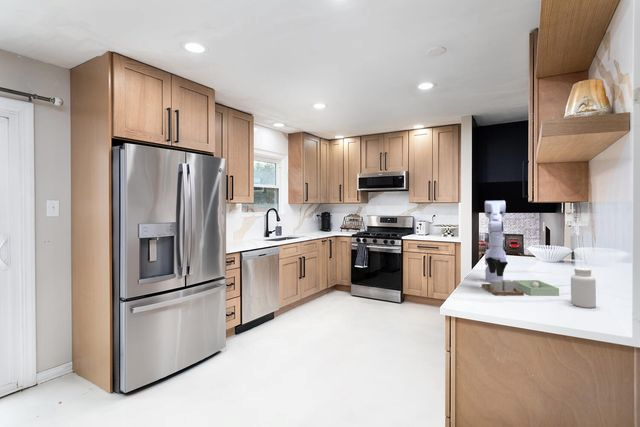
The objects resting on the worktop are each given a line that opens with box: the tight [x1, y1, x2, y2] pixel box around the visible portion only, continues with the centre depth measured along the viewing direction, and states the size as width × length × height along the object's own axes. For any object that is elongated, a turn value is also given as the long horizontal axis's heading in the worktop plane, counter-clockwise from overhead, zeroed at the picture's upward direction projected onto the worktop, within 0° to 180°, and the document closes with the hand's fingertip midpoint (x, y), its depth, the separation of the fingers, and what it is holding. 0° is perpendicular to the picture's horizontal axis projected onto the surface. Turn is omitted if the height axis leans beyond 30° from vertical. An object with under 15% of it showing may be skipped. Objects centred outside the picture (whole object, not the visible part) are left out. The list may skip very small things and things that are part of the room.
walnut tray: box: [481, 283, 525, 297], centre depth 156 cm, size 16×12×2 cm
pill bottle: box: [570, 267, 597, 309], centre depth 134 cm, size 8×8×15 cm
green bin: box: [512, 279, 560, 297], centre depth 155 cm, size 16×12×4 cm
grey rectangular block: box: [489, 280, 504, 292], centre depth 156 cm, size 4×4×5 cm
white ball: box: [532, 282, 539, 288], centre depth 160 cm, size 3×3×3 cm
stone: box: [501, 279, 514, 292], centre depth 156 cm, size 4×4×5 cm
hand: (496, 274), depth 156 cm, fingers open, 7 cm apart
